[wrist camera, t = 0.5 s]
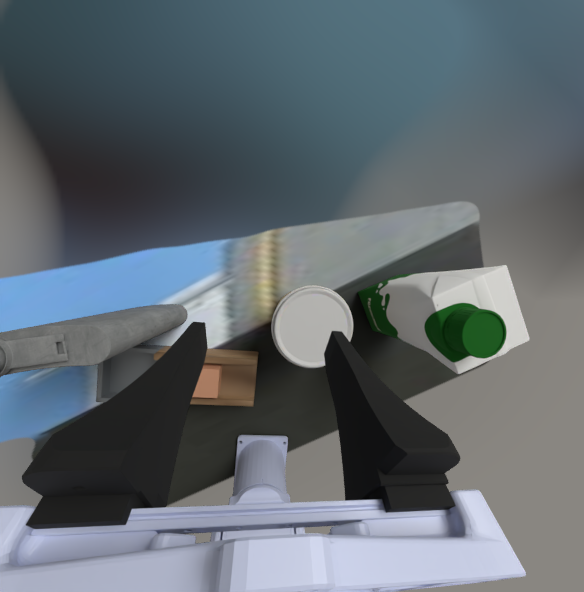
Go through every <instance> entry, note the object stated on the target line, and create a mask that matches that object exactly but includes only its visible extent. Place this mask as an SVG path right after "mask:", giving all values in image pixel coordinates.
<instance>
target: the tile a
mask: <svg viewBox="0 0 584 592" xmlns="http://www.w3.org/2000/svg"><path fill="white" fill-rule="evenodd" d="M221 375H222V365H218V364H204V365H203V368H202V371H201V374H200V377H199V380H198V383H197V385H196V388H195V391H194V394H193V397H200V398H217V397H218V395H219V393H220V387H221Z"/></svg>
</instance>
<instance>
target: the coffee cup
mask: <svg viewBox="0 0 584 592" xmlns="http://www.w3.org/2000/svg"><path fill="white" fill-rule="evenodd" d="M332 331H342V332H343V334H344V335H345V336H346V338H347V339H348V340H349V342H350V341H351V338H352V334H353V318H352V314H351V311H350V309H349V307H348V305H347V303H346V302H345V301H344V299H343V298H342V297H341V296H339V295H338V294H337V293H336V292H334V291H332V290H330V289H328V288H325V287H322V286H305V287H301V288H298V289H296V290H294V291H292V292H289V293H288V294H286V295H285V296H284V297H283V298H282V299H281V300H280V301H279V303H278V305H277V307H276V309H275V312H274V314H273V318H272V324H271V332H272V337H273V341H274V343H275V346H276V347H277V349H278V351H279V352H280V353H281V354H282V356H283V357H285V358H286V359H287V360H288V361H290V362H291V363H293V364H295V365H297V366H301V367H305V368H318V367H323V366H325V358H324V352H325V350H326V347H327V344H328V341H329V338H330V335H331V332H332Z"/></svg>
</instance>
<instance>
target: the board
mask: <svg viewBox="0 0 584 592" xmlns="http://www.w3.org/2000/svg"><path fill="white" fill-rule="evenodd" d="M170 347H171V346H165V347H163V348H162V349H160V350H159V351H158V352H156V353H155V354H154V360H158V359H159V358H160V357H162V356H163V355H164V354H165V353H166V352H167V351H168V349H169V348H170ZM257 361H258V352H255V351H238V350H222V349H207V352H206V357H205V361H204V364H218V365H222V375H221V387H220V393H219V395H218V397H217V398H200V397H192V399H191V402H190V404H203V405H231V406H253V403H254V395H255V384H256V372H257Z"/></svg>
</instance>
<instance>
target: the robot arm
mask: <svg viewBox="0 0 584 592" xmlns="http://www.w3.org/2000/svg"><path fill="white" fill-rule="evenodd" d="M206 352H207V339H206V328H205V323H201V322H193V323H191V325H190V326H189V327H188V328H187V329H186V331H185V332H184V333H183V334H182V335H181V336H180V338H179V339H178V340H177V341H176V342H175V343H174V344H173V345H172V346H171V347H170V348H169V349H168V351H167V352H166V353H165V354H164V355H163V356H162V357H160V358H159V359H158V360H157V361H156V362H155V363H154V364H153V365H152V366H151V367H150V368H149V369H148V370H147V371H145V372H144V373H143V374H142V375H141V376H140V377H138V378H137V379H136V380H135V381H133V382H132V383H131V384H130V385H128V386H127V387H126V388H124V389H123V390H122V391H121V392H119V393H118V394H116V395H115V396H114V397H112V398H111V399H109V400H108V401H106V402H105V403H103V404H102V405H100V406H99V407H98V408H96V409H95V410H93V411H92V412H90V413H88V414H87V415H85V416H84V417H82V418H80V419H79V420H77V421H75V422H74V423H72V424H70V425H69V426H67V427H65V428H64V429H62V430H60V431H58V432H57V433H55V434H53V435H52V436H51V438H50V439H49V440H48V441H47V443H46V444H45V445H44V446H43V447H42V449H41V450H40V452H39V453H38V454H37V456H36V457H35V459H34V460H33V461H32V463H31V464H30V466H29V467H28V469H27V470H26V471H25V473H24V474H23V475H22V480H23V483H24V484H26V485H27V486H28V487H30V488H31V489H33V490H34V491H36V492H37V493H39V494H41V495H42V496H43V497H42V499H41V501H40V502H39V504H38V506H37V507H35V506H28V505H17V506H0V592H393V591H403V590H412V589H422V588H431V587H440V586H449V585H461V584H471V583H481V582H488V581H496V580H503V579H509V578H516V577H523V576H526V572H525V571H524V569H523V567H522V565H521V564H520V562H519V560H518V558H517V556H516V554H515V553H514V551H513V549H512V547H511V546H510V544H509V542H508V540H507V538H506V537H505V536H504V533H503V531H502V530H501V528H500V526H499V524H498V522H497V521H496V519H495V517H494V515H493V514H492V512H491V510H490V508H489V506H488V505H487V503H486V501H485V499H484V498H483V496H482V494H481V492H480V491H479V490H456V491H451V492H449V490H448V489H447V486H446V484H448V480H447V477H446V475H445V472H447V471H448V470H450V469H451V468H453V467H454V466H455V465H457V464H458V463H459V461H460V456H459V454H458V452H457V450H456V448H455V446H454V444H453V443H452V441H451V439H450V438H449V436H448V435H447V434H446V433H445V432H443V431H442V430H440V429H439V428H437V427H436V426H435V425H433V424H432V423H430V422H429V421H427V420H426V419H425V418H423V417H422V416H421V415H419V414H418V413H417V412H416V411H414V410H413V409H412V408H410V407H409V406H408V405H407V404H406V403H405V402H404V401H402V400H401V399H400V398H399V397H398V396H397V395H396V394H394V393H393V392H392V391H391V390H390V389H389V388H388V387H387V386H386V385H385V384H384V383H383V382H382V381H381V380H380V379H379V378H378V377H377V376H376V374H375V373H374V372H373V371H372V370H371V369H370V368H369V366H368V365H367V364H366V363H365V361H364V360H363V359H362V358H361V356H360V355H359V354H358V353H357V351H356V350H355V349H354V347H353V346H352V345H351V343H350V342H349V340H348V339H347V338H346V336H345V335H344V334H343V332H342V331H332V332H331V335H330V338H329V341H328V344H327V347H326V350H325V352H324V358H325V367H326V373H327V377H328V381H329V385H330V389H331V393H332V397H333V401H334V406H335V410H336V416H337V423H338V429H339V437H340V445H341V453H342V463H343V474H344V485H345V501H319V502H294V503H290V496H289V494H287V490H286V479H285V466H286V455H287V445H288V437H287V436H269V435H239V436H238V442H237V454H236V465H235V477H234V478H235V479H234V489H233V497H230V500H229V505H216V506H191V507H166V505H167V500H168V495H169V490H170V485H171V480H172V475H173V471H174V466H175V462H176V457H177V453H178V448H179V444H180V440H181V436H182V431H183V427H184V423H185V419H186V415H187V412H188V408H189V405H190V402H191V399H192V397H193V394H194V391H195V388H196V385H197V383H198V380H199V377H200V374H201V371H202V368H203V365H204V361H205V357H206ZM239 441H242V442H239ZM283 442H286V443H283ZM338 525H339V526H338ZM319 526H334V527H332V528H331V529H330V533H329V534H327V535H325V534H321V533H307V534H305V531H304V527H319ZM206 532H212V534H211V540H210V542H204V543H195V541H196V537H195V535H186V534H188V533H206Z"/></svg>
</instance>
